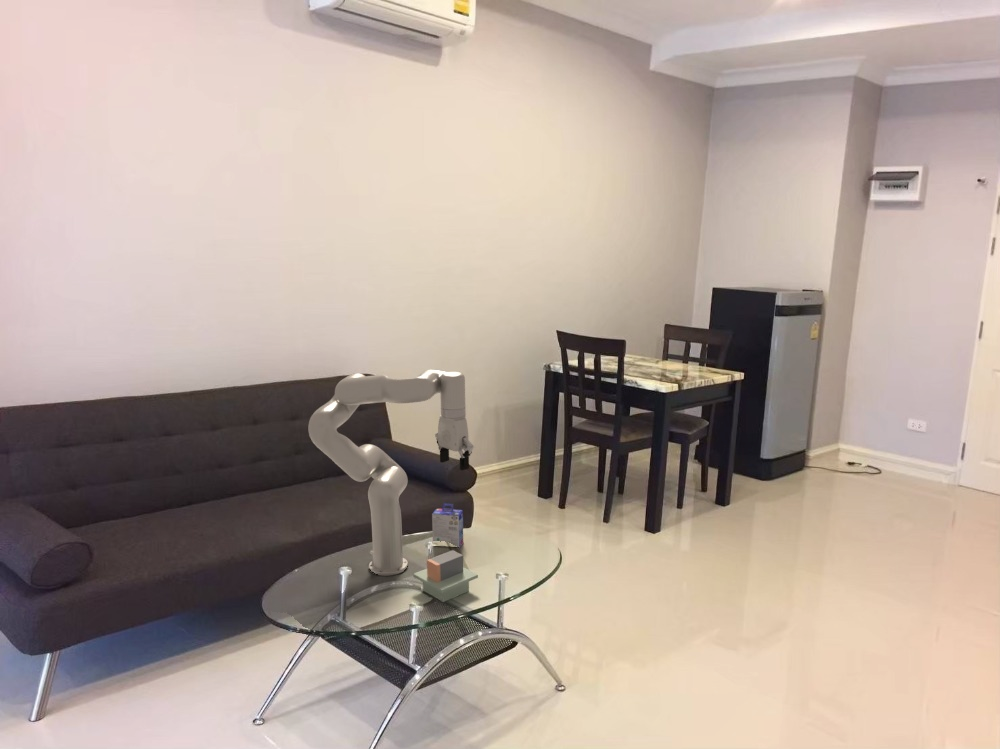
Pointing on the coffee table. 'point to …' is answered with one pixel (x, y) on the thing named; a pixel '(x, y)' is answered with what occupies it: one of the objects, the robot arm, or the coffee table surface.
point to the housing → (444, 566)
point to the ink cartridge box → (448, 525)
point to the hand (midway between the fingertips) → (454, 465)
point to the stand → (446, 584)
